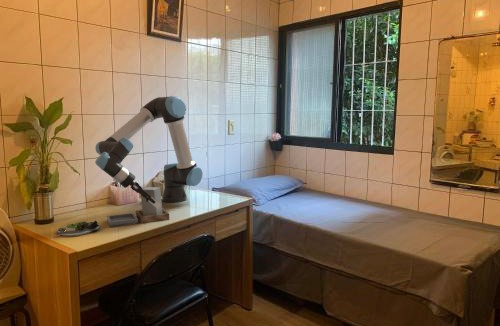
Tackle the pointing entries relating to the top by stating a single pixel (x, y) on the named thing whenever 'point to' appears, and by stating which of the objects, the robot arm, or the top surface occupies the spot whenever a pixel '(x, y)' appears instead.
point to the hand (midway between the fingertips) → (156, 203)
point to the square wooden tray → (152, 216)
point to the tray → (122, 220)
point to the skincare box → (147, 206)
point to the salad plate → (79, 229)
